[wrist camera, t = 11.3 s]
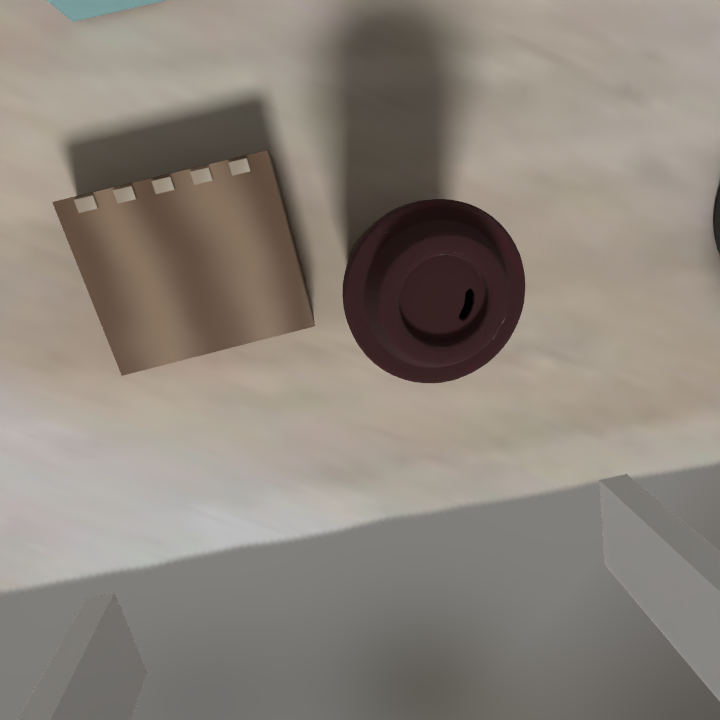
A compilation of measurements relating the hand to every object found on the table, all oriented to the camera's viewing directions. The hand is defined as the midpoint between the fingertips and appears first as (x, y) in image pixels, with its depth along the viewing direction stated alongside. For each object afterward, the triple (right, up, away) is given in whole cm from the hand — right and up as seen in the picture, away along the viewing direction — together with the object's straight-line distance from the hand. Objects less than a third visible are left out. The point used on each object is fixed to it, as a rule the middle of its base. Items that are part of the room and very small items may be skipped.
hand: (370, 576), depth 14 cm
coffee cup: (+2, +13, +27) cm, 30 cm away
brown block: (-12, +13, +25) cm, 31 cm away
